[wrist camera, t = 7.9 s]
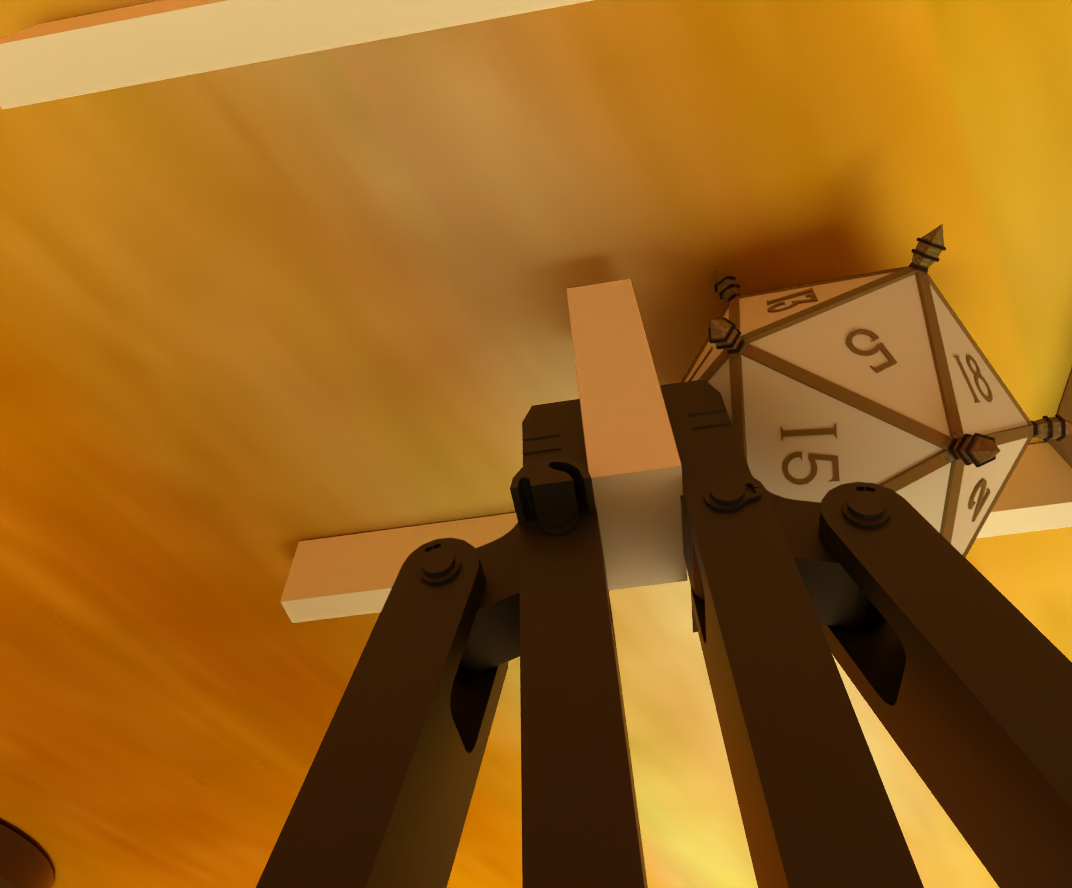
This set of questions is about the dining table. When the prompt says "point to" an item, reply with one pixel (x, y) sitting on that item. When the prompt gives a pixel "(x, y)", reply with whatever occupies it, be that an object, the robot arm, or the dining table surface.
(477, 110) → the dining table surface
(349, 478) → the dining table surface
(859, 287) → the game die
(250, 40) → the tan piece
